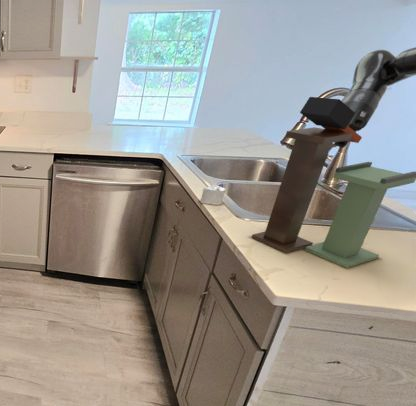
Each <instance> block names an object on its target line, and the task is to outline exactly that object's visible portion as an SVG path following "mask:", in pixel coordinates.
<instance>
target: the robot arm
mask: <svg viewBox="0 0 416 406" xmlns="http://www.w3.org/2000/svg"><path fill="white" fill-rule="evenodd" d="M414 76H416V46H415V47H412V48H408V49H405V50H403V51H402V52H400V53H399V54H398V55H397V56H395V55H394V54H393V53H391V52H390V51H389V50H387V49H377V50H374V51H370V52H369V53H367V54H366V55H364V56H363V57H362V58H360V60H359V61H358V63H357V64H356V66H355V68H354V73H353V77H352V83H351V87H350V89H349V90H348V91H347V93H346V94H345V96H344V97H343V98H342V99H341V101H342V102H343V103H344V104H345V105H347V106H348V107H349V108H350V109H351V110H353V111H354V112H355V113H356V114H355V115H354V117H353V118H352V120H351V121H350V123H349V124H348V126H349V127H350V128H351V129H352V130H354V131H355V132H356V133H357V132H359V131H361V130H362V129H364V128H365V127H366V126H367V125H368V123H369V122H370V120H371V118H372V116H373V115H374V114H375V112H376V110H377V108H378V106H379V103H380V102H381V100H382V98H383V96H384V95H385V93H386V92H387V89H388V87H390V86H393V85H395V84H397V83H399V82H401V81H403V80H407V79H409V78H411V77H414ZM348 143H349V141H340V142H334V143H332V145H331V147H330V150H329V152H331V150H332V149H333V148H337V147H339V148H341V149H344V148H345V147H346V146H348Z"/></svg>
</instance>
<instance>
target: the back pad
mask: <svg viewBox="0 0 416 406" xmlns="http://www.w3.org/2000/svg"><path fill="white" fill-rule="evenodd" d="M299 113H300V114H301V115H302V116H304V118H306V119H308V120H309V121H311V123H313V124H314V125H315V126H319V127H322V129H328V130H334V131H340V132H346V133H352V134H353V135H352V137H351V140H346V141H349V142H350V143H355V144H359V143H360V141H361V140H362V139H363V136H361V135H360V134H359V133H357V132H355V131H354V130H352V129H351V128H350V127H349V126H348V124H349V123H350V121H351V120H352V118H353V117H354V115H355V114H356V113H355V112H354V111H353V110H351V109H350V108H349V107H348V106H347V105H345V104H344V103H343V102H342V99H339V98H329V97H317V96H316V97H314V96H309V97H308V99H307V100H306V102H305V103H304V105H303V107H302V108H301V110H300V111H299ZM349 142H348V143H349Z"/></svg>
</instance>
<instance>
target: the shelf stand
mask: <svg viewBox="0 0 416 406" xmlns="http://www.w3.org/2000/svg"><path fill="white" fill-rule="evenodd" d="M352 135H353V134H352V133H346V132H340V131H334V130H328V129H324V128H323V127H322V128H320V127H307V128H300V129H292V130H287V131H286V133H285V137H284V138H287V139H288V138H289V139H293V140H294V142H293V145H292V148H291V151H290V154H289V158H288V161H287V163H286V164H287V165H286V167H285V170H284V173H283V177H282V179H281V182H280V184H279V188H278V191H277V194H276V197H275V200H274V204H273V205H272V206H273V207H272V210H271V213H270V216H269V219H268V222H267V225H266V228H265V231H261V232H256V233H253V234H252V235H251V238H252V239H254V240H256V241H259V242H260V243H263V244H265V245H267V246H269V247H271V248H273V249H276V250H278V251H280V252H282V253H285V254H288V253H292V252H294V251H299V250H302V249H306V247H308V246H311V245H314V242H313V241H310V240H307V239H305V238H303V237H300V236H299V234H300V231H301V229H302V226H303V223H304V221H305V218H306V216H307V213H308V212H307V211H308V209H309V207H310V204H311V201H312V199H313V197H314V193H315V190H316V188H317V186H318V182H319V180H320V177H321V174H322V171H323V169H324V166H325V163H326V160H327V159H328V155H329V152H330V151H331V150H330V147H331V145H332V143H333V144H334V143H335V142H340V141H346V140H351V137H352ZM329 150H330V151H329Z"/></svg>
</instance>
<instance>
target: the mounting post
mask: <svg viewBox="0 0 416 406" xmlns="http://www.w3.org/2000/svg"><path fill="white" fill-rule="evenodd" d="M372 164H373V162H372V161H365V162H360V163H354V164H349V165H344V166H340V167H336V168H335V171H334V173H333V176H332V178H333V179H336V180H340V181H343V182H347V184H346V187H345V189H344V191H343V194H342V197H341V199H340V202H339V204H338V206H337V209H336V211H335V214H334V216H333V219H332V221H331V224H330V226H329V229H328V231H327V233H326V236H325V238H324V241H323V242H319V243H315V244H312V245H311V246H308V247H306V248H304V251H306V252H308V253H311V254H313V255H315V256H317V257H320V258H322V259H325V260H327V261H329V262H332V263H334V264H335V265H339V266H341V267H343V268H345V269H348V268H352V267H354V266H358V265H360V264H364V263H367V262H370V261H373V260H376V259H377V260H378V258H379V256H380V254H378V253H376V252H373V251H371V250H367V249H365V248H362V247H363V244H364V242H365V239H366V237H367V235H368V233H369V231H370V228H371V226H372V224H373V222H374V220H375V217H376V215H377V214H378V213H377V212H378V211H379V208H380V207H381V204H382V202H383V200H384V197H385V196H386V194H387V191H388V190H389V189H393V188H397V187H402V186H406V185H410V184H415V182H416V171H410V172H406V173H402V172H398V171H393V170H388V169H384V168H379V167H375V166H372Z"/></svg>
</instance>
